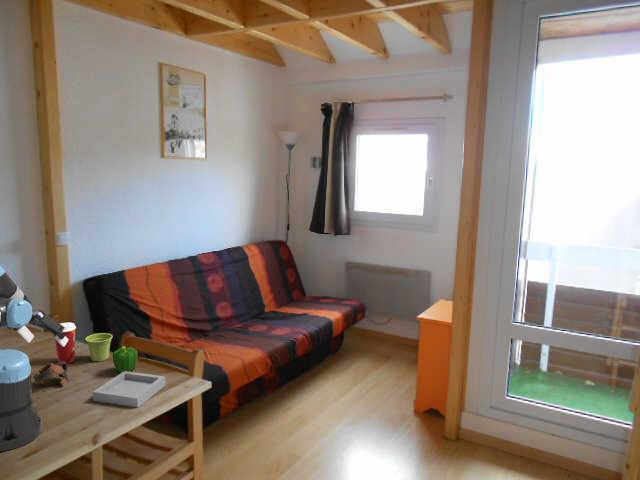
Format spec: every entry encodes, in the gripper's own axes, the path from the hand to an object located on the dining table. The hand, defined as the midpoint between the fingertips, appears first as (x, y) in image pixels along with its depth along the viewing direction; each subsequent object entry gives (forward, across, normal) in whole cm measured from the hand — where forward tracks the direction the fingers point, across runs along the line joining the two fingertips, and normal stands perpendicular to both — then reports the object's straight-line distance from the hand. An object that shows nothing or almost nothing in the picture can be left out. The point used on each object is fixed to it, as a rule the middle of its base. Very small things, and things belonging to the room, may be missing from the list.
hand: (48, 341), depth 159 cm
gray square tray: (+14, -29, +8) cm, 33 cm away
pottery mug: (+13, 0, +8) cm, 16 cm away
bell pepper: (+22, -17, -4) cm, 28 cm away
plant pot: (+26, -1, -10) cm, 28 cm away
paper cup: (+23, +10, -6) cm, 26 cm away
